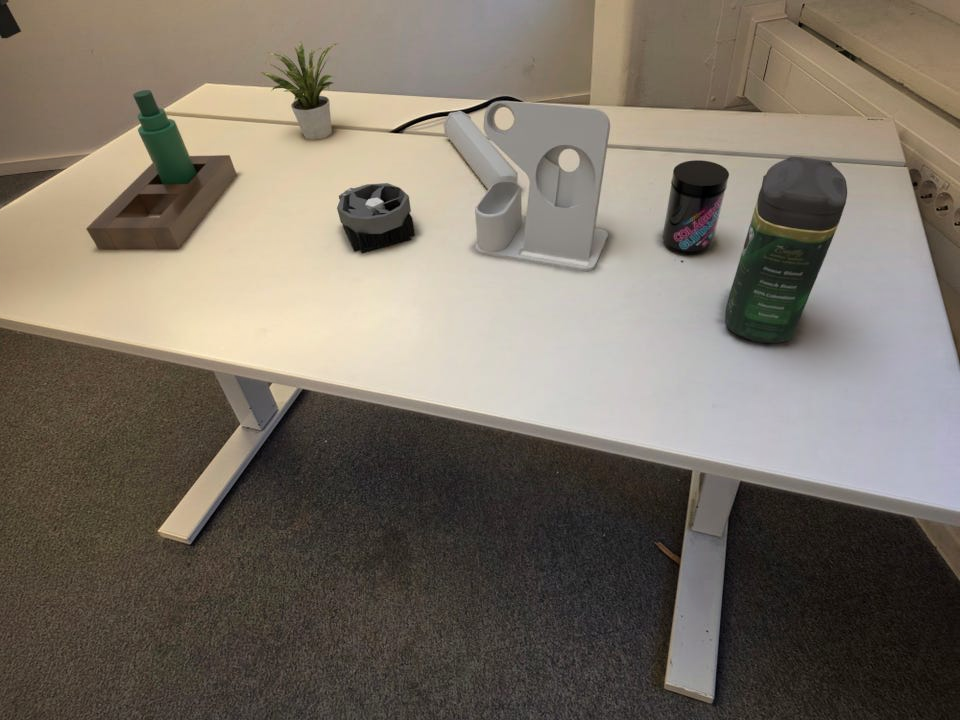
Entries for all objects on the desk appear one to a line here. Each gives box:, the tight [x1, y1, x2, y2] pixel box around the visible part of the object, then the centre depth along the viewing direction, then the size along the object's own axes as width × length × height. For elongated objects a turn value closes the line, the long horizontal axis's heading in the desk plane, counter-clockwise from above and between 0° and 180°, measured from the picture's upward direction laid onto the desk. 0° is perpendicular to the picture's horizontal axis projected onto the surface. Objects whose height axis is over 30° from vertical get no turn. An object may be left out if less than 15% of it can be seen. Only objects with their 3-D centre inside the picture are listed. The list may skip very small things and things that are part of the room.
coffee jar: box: [724, 156, 848, 344], centre depth 65 cm, size 10×8×19 cm
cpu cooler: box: [336, 182, 416, 254], centre depth 88 cm, size 10×6×10 cm
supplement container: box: [661, 159, 730, 256], centre depth 80 cm, size 7×7×10 cm
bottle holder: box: [85, 154, 238, 251], centre depth 98 cm, size 13×23×4 cm, turn 175°
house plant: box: [260, 41, 339, 141], centre depth 112 cm, size 14×14×16 cm
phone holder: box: [474, 100, 611, 272], centre depth 79 cm, size 17×10×18 cm, turn 68°
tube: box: [443, 110, 519, 191], centre depth 101 cm, size 5×5×25 cm
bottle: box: [132, 89, 197, 185], centre depth 97 cm, size 6×6×17 cm
